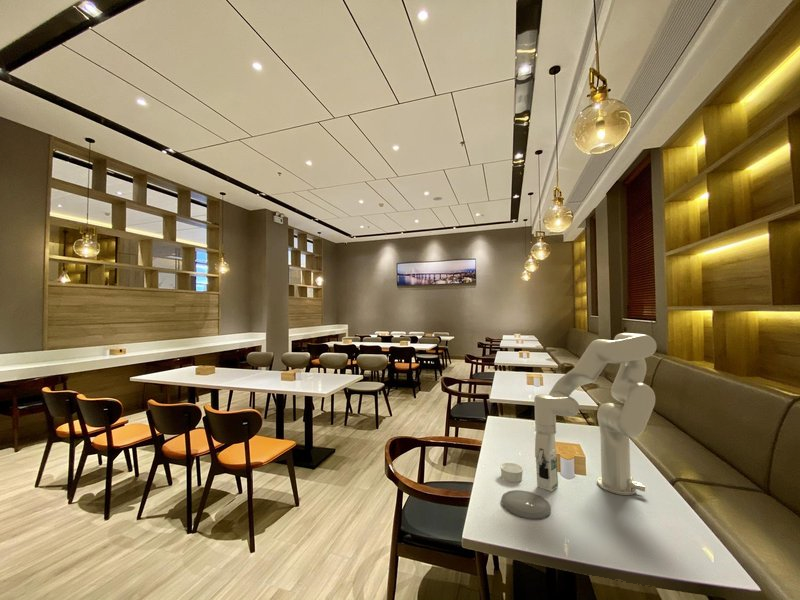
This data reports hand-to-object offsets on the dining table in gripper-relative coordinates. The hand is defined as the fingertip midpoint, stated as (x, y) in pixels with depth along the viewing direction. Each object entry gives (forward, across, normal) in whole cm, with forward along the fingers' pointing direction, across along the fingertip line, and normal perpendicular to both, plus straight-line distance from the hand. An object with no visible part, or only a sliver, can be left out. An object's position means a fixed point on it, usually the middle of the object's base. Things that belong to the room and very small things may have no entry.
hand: (546, 474), depth 128 cm
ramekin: (+5, +2, -13) cm, 14 cm away
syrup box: (+5, 0, 0) cm, 5 cm away
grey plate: (+5, +18, -1) cm, 19 cm away
